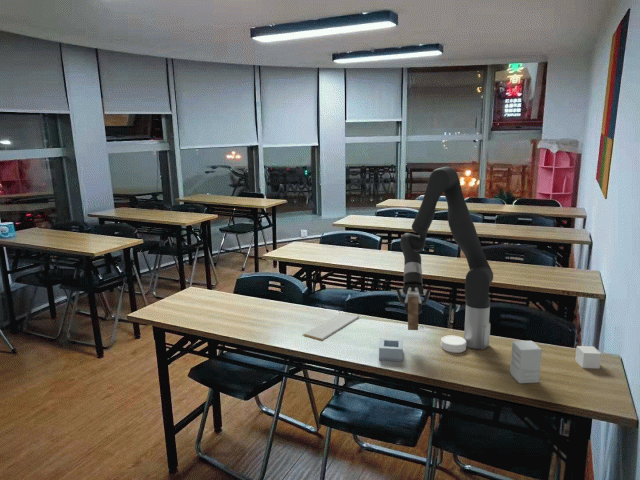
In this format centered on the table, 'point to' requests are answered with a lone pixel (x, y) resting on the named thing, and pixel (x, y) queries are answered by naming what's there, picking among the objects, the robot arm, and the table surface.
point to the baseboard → (331, 326)
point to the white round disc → (453, 343)
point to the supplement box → (525, 361)
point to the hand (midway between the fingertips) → (413, 313)
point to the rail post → (413, 310)
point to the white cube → (588, 357)
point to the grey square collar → (391, 349)
